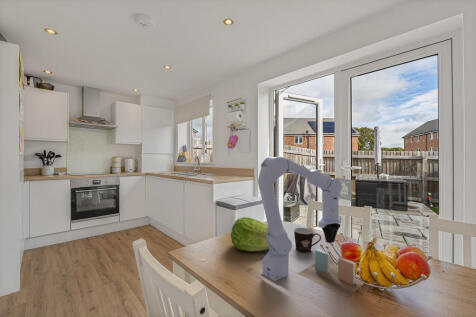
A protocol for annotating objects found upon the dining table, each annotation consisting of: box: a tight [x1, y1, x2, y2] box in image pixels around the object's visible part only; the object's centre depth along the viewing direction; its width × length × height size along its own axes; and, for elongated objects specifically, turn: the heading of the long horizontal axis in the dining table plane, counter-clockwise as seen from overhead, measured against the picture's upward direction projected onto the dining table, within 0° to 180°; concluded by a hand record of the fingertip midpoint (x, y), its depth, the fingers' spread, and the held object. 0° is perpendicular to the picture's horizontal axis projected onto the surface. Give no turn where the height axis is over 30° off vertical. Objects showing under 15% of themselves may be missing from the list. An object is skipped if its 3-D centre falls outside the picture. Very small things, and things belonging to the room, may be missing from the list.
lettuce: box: [230, 216, 270, 253], centre depth 104 cm, size 17×24×14 cm
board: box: [297, 258, 365, 299], centre depth 79 cm, size 20×18×1 cm
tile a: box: [314, 248, 331, 273], centre depth 82 cm, size 2×5×7 cm, turn 39°
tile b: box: [337, 257, 356, 285], centre depth 75 cm, size 2×5×7 cm, turn 39°
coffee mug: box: [293, 227, 322, 254], centre depth 99 cm, size 12×9×10 cm
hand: (330, 242), depth 86 cm, fingers closed
